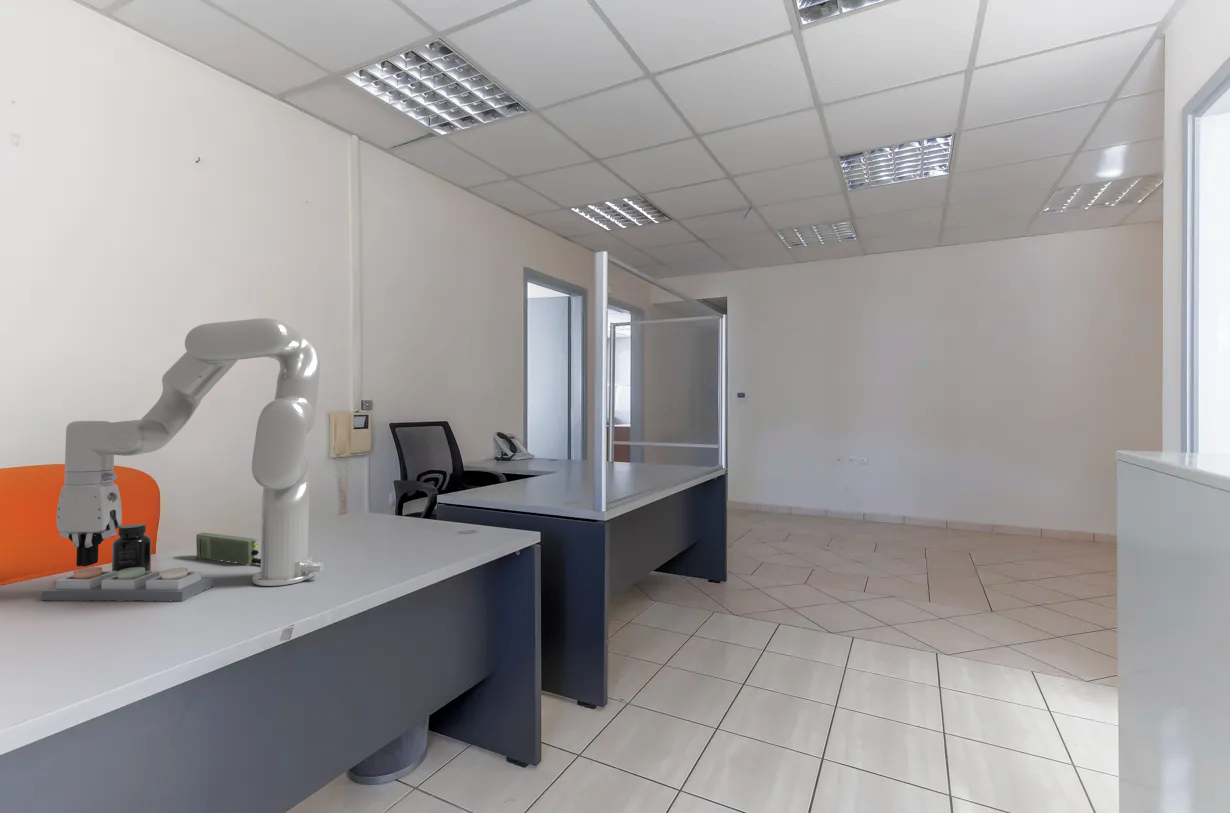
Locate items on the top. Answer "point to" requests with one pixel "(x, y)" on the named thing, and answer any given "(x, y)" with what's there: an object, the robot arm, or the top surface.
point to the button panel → (128, 587)
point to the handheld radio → (227, 548)
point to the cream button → (174, 573)
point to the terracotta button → (87, 573)
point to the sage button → (131, 573)
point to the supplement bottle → (131, 548)
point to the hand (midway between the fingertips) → (87, 564)
